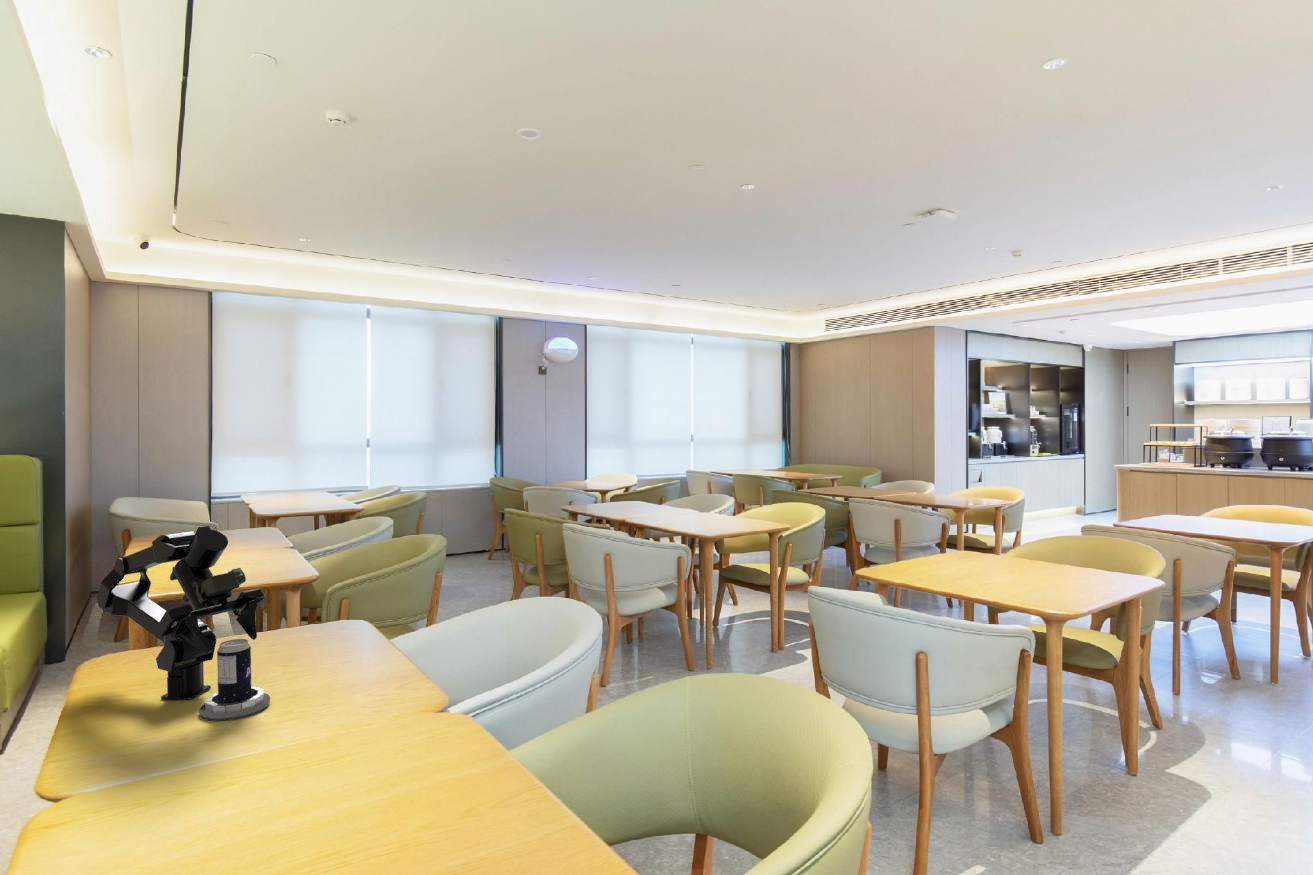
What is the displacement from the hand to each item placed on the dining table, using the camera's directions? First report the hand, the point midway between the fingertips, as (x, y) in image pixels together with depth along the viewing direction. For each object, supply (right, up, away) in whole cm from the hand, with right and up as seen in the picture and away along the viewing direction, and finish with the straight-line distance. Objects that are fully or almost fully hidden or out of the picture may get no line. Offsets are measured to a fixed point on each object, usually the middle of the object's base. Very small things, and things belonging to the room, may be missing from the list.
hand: (232, 644), depth 143 cm
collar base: (0, -12, 0) cm, 13 cm away
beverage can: (0, -12, 0) cm, 12 cm away
